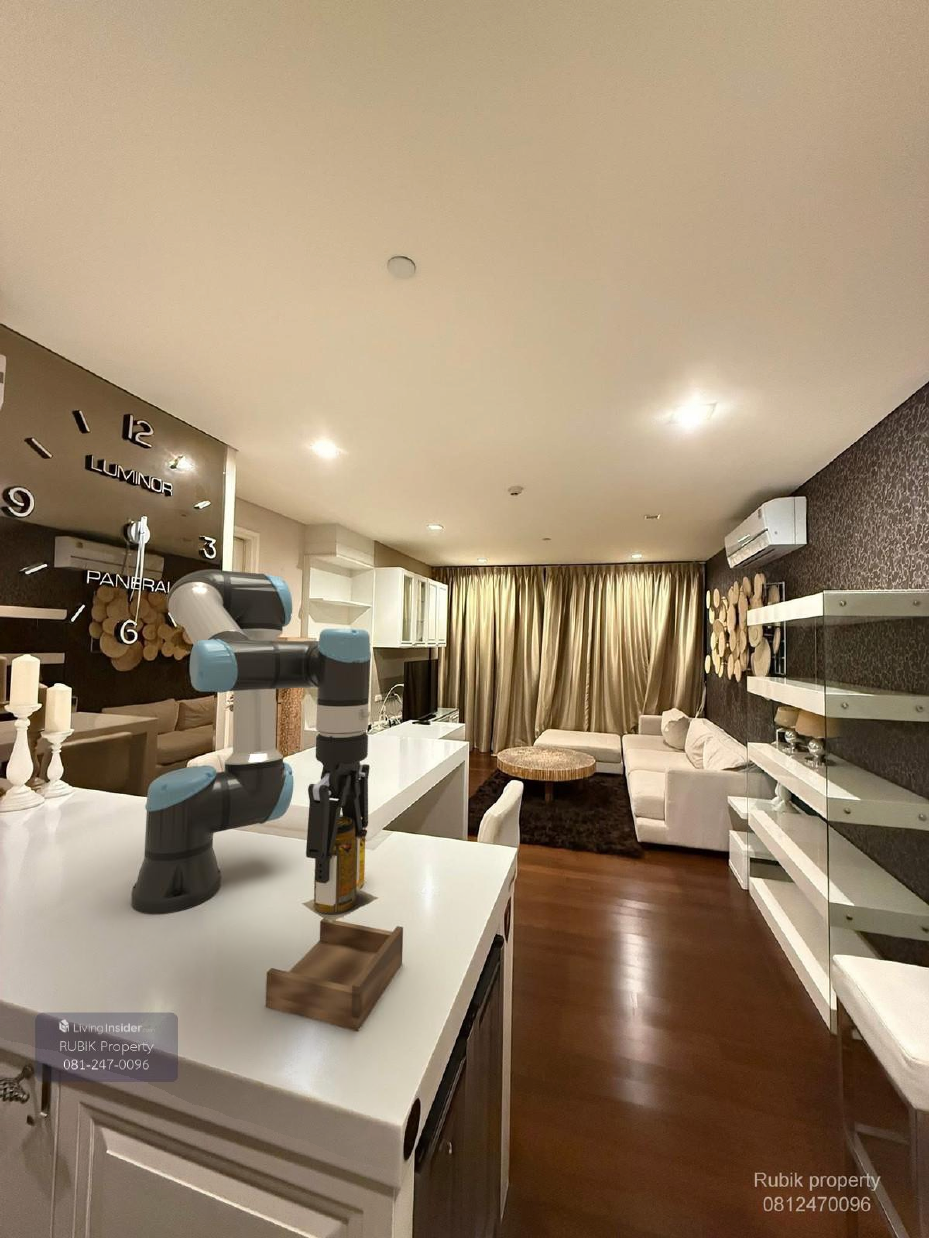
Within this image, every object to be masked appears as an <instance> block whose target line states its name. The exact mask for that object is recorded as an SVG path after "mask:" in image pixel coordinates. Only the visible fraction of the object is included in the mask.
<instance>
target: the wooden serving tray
mask: <svg viewBox="0 0 929 1238" xmlns="http://www.w3.org/2000/svg"><path fill="white" fill-rule="evenodd" d="M403 938H404V926H398V925H397V926H396V927H395V928H394V929H393V931H391V930H386V929H381V928H376V927H371V926H365V925H361V924H356V923H355V924H354V923H351V922H350V923H349V922H346V921H341V920H334V921H332V922H329V921H328V920H326V919H325V918H323V917H322V919H321V920H320V921H319V941H318V942H316V944H314V945H313V946H312V948H310V950H308V952H306V954H304V955H303V956H302V958H301V959H300V960H299V961H298V962H297V963H296V964H295V965H294V966H293V967H291V969H289V971H286V970H282V969H279V968H274V967H271V968H269V969H268V970H267V971H266V976H265V977H266V979H265V980H266V984H265V985H266V986H265V1005H264V1006H265V1008H270V1009H273V1010H277V1011H281V1012H284V1013H288V1014H292V1015H295V1016H296V1015H297V1016H299V1017H303V1018H306V1019H307V1018H308V1019H311V1020H314V1021H317V1022H322V1023H325V1024H329V1025H330V1024H331V1025H334V1026H338V1027H341V1028H345V1029H348V1030H352V1031H356V1032H359V1031H360V1029H361V1027H362V1026H363V1025H364V1024H365V1021H366V1020H367V1018H368V1017H369V1015H370V1014H371V1012H372V1010H373V1009H374V1007H376V1004H377V1003H378V1002H379V1000H380V998H381V997H382V995H383V993H384V992H385V990H386V989H387V987H388V986H389V985H390V983H391V982H392V980H393V979H394V976H395V975H396V974H397V973H398V971H399V969H400V967H401V966H402V964H403V951H404V950H403V947H404V946H403V945H404V943H403V942H404V939H403Z"/></svg>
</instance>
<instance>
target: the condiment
mask: <svg viewBox="0 0 929 1238" xmlns="http://www.w3.org/2000/svg"><path fill="white" fill-rule="evenodd" d="M357 844H358V842H357V838H356V837H355V822H354V820H353V819H352V818H349V817H344V816H341V817H340V818H339V823H338V829H337V835H336V841H335V846H334V852H333V855H334V856H337V865H336V901H335V904H334V905H333V906H330V905H325V904H319V903H316V859H314V883H313V884H314V888H313V889H314V890H313V891H314V894H313V896H314V897H313V899H309V901H307V902H302V903H301V904H302V906H305V907H306V908H308V909H309V910H310V911H311V912H313V913H314V914H316V915H318V916H319V917H321V918H322V919H323V918H325V919H326V920H328V921H329V922H332V921H334V920H336V921H338V920H339V919H341V918H344V916H347V915H350V914H351V913H353V912H355V911H356V910H358V909H360V908H361V907H362V908H363V907H364V906H366V905H367V906H368V905H369V904H370V903H372V902H374V901H375V900H378V899H379V897H377V896H375V895H373V894H371V893H368V892H366V891H365V890H363V889H361V888H358V887H357Z"/></svg>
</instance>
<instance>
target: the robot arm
mask: <svg viewBox="0 0 929 1238" xmlns="http://www.w3.org/2000/svg"><path fill="white" fill-rule="evenodd" d="M166 607H167V611H168V613H169V615H170V617H171V618H172V619H173V621H174V622H175V623H176V624H178V625H179V626H181V627H183V628H184V631H185V632H186V634H187V636H188V638H189V640H190V641H191V643H192V645H193V646H192V649H191V651H190V657H189V677H190V683H191V686H192V688H194V690H196V691H199V692H216V693H219V694H221V693H227V692H233V693H232V694H233V699H232V700H233V703H232V708H233V709H232V710H233V711H232V753H231V755H230V756H229V757H228V758H227V759H226V760H225V761H224V771H219V772H218V771H217V770H216V768H215V767H214V766H212V765H205V764H204V765H199V766H198V765H194V766H193V765H192V766H189V767H188V766H187V767H184V768H183V767H182V768H180V769H176V770H173V771H169V772H167V773H164V774H162V775H160V776H158V777H157V778H155V779H154V780H153V781H152V782H151V783H150V785H149V787H148V789H147V797H146V804H145V811H146V814H145V815H146V817H145V835H144V836H145V837H144V854H143V856H144V858H143V861H142V864H141V866H140V868H139V873H138V874H137V879H136V882H135V883H134V884H133V887H132V889H131V897H130V898H131V899H130V906H131V908H132V909H134V910H135V911H137V912H138V913H143V914H150V915H151V914H153V915H155V914H159V915H160V914H168V913H173V912H180V911H183V910H187V909H190V908H193V907H195V906H197V905H201V904H203V903H205V902H206V901H208V900H210V899H211V898H213V897H214V896H215V895H216V894H217V893H218V892H219V890H220V889H221V886H222V885H221V884H222V872H221V870H220V868H219V866H218V861H217V858H216V857H217V856H216V854H215V851H214V834H216V833H219V832H225V831H230V830H233V829H234V830H235V829H238V828H243V827H249V826H253V825H256V824H257V825H259V824H260V825H262V824H265V823H266V822H267V823H268V822H271V821H275V820H279V819H280V818H282V817H283V816H284V815H285V814H286V813H287V811H288V810H289V807H290V805H291V802H292V799H293V793H294V784H295V783H294V776H293V769H292V767H291V765H290V764H289V763H287V762H284V755H283V754H282V753H281V752H280V751H278V749H277V748H276V745H277V743H276V741H277V740H276V737H277V735H276V734H277V733H276V732H277V731H276V727H277V726H276V725H277V724H276V720H277V719H276V718H277V717H276V715H277V713H276V712H277V711H276V710H277V709H276V708H277V707H276V704H277V701H276V693H277V691H276V690H281V689H282V690H283V689H302V688H303V689H306V688H314V689H315V688H317V699H316V700H317V701H316V703H317V704H316V724H315V729H316V731H317V732H318V733H319V734H317V735H316V737H315V759H316V760H317V761H318V762H320V763H321V764H322V771H321V774H320V780H319V781H318V782H317V783H310V784H309V785H308V786H307V787H308V788H307V795H308V799H309V800H308V801H309V802H308V803H309V804H308V805H309V806H308V820H307V821H308V822H307V835H306V848H305V849H306V850H305V857H306V858H310V859H314V860H315V859H316V903H319V904H325V905H330V906H333V905H334V904H335V901H336V865H337V856H334V855H333V852H334V846H335V841H336V835H337V829H338V823H339V818H340V812H341V809H342V814H343V816H344V817H349V818H352V819H353V820H354V822H355V837H356V838H357V842H358V844H357V883H358V882H359V861H360V836H362V837H365V838H366V836H367V834H368V830H367V827H368V826H369V776H370V775H369V774H370V765H369V764H367V763H366V764H365V763H361V762H362V761H364V760H365V759H367V757H368V752H369V751H368V750H369V735H368V734H367V732H365V731H366V730H368V728H369V717H370V716H371V713H370V711H369V701H370V700H369V699H370V678H371V677H370V676H371V658H372V653H371V642H370V641H371V639H370V638H371V637H370V634H369V632H368V631H366V630H365V629H359V628H358V629H353V628H324V629H322V630H321V632H320V633H319V638H318V640H302V641H300V640H299V641H298V640H296V641H295V640H277V639H279V637H280V636H281V635H282V634H283V632H284V630H283V628H285V627H286V626H288V625H290V622H292V614H293V600H292V594H291V591H290V588H289V586H288V584H287V583H286V581H285V580H284V579H283V578H282V577H280V576H278V575H277V576H276V575H270V574H266V573H256V572H255V573H254V572H243V571H231V570H221V569H202V570H201V569H200V570H197V571H194V572H190V573H188V574H186V575H185V576H183V577H181V578H179V579H178V580H177V581H176V582H174V584H173V585H172V587H170V590H168V594H167V598H166ZM335 799H336V800H335ZM361 817H362V819H361ZM363 828H366V830H363Z"/></svg>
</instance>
